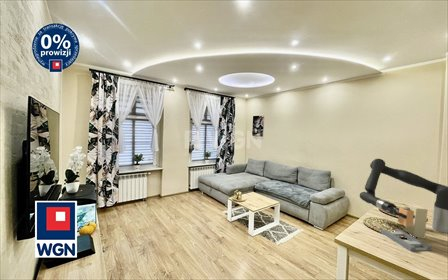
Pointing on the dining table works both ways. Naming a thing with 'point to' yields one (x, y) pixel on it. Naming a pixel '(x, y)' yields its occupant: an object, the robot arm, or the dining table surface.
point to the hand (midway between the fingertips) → (410, 217)
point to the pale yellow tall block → (417, 221)
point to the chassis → (411, 244)
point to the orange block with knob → (409, 215)
